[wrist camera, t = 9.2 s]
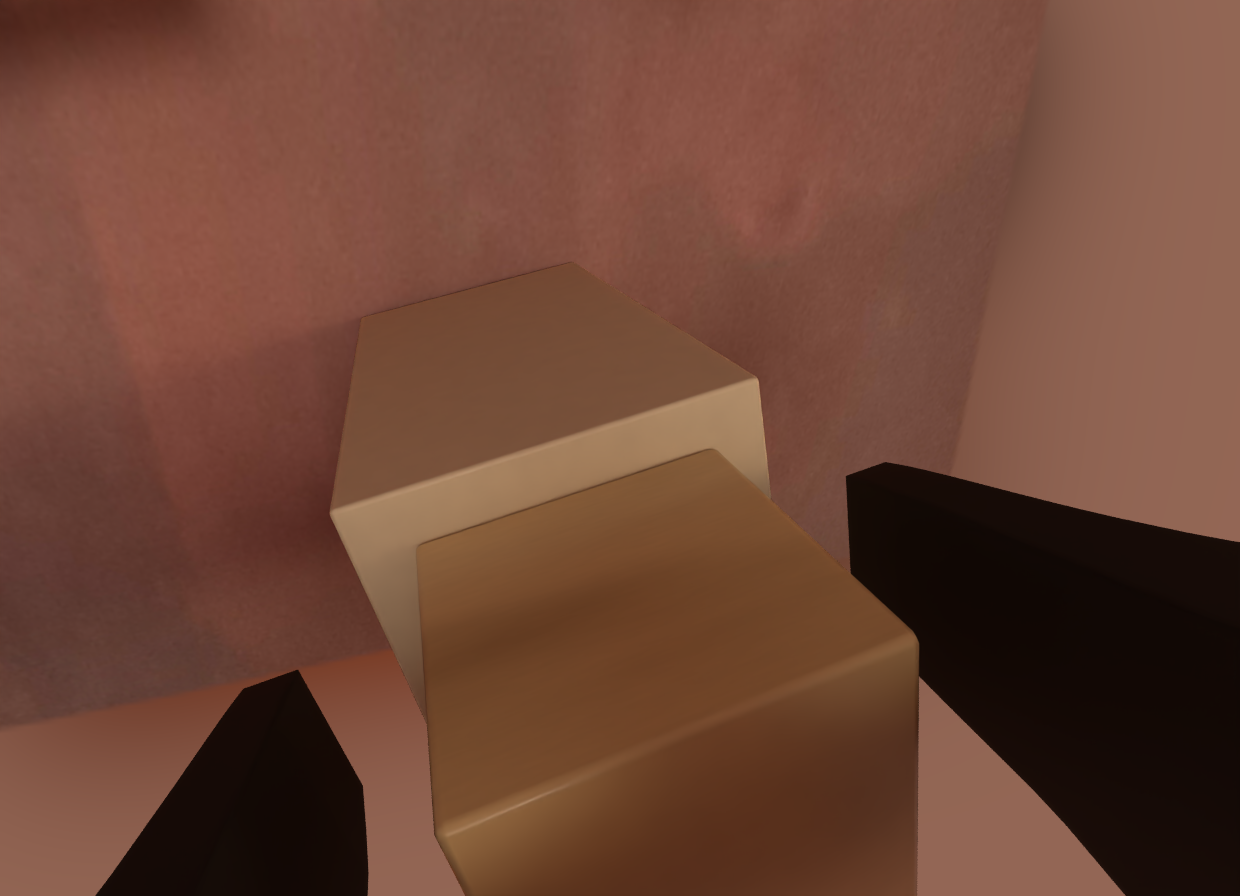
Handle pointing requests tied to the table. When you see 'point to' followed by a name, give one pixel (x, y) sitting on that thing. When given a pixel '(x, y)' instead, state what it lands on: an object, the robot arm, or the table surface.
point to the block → (666, 700)
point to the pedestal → (516, 420)
